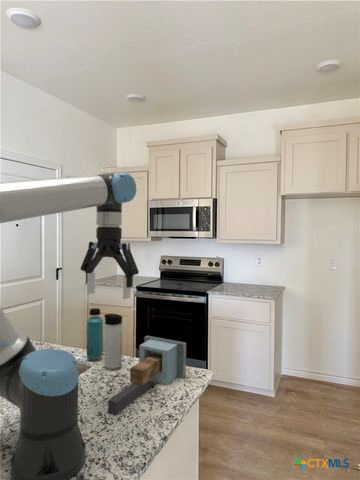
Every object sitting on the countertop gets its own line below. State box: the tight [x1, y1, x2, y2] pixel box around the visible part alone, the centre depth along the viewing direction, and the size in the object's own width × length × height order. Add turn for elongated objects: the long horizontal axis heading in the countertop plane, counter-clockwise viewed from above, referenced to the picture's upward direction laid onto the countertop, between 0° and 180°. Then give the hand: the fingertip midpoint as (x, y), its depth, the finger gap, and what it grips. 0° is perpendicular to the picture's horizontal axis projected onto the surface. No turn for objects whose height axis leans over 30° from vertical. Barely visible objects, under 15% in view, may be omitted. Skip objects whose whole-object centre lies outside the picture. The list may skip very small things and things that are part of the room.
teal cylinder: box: [85, 307, 104, 359], centre depth 130 cm, size 6×7×20 cm
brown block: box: [129, 353, 162, 385], centre depth 109 cm, size 14×4×4 cm, turn 153°
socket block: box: [138, 340, 178, 386], centre depth 115 cm, size 7×11×11 cm, turn 64°
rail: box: [107, 381, 150, 416], centre depth 100 cm, size 17×3×4 cm, turn 154°
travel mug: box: [103, 313, 123, 371], centre depth 123 cm, size 6×7×20 cm
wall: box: [143, 335, 187, 379], centre depth 119 cm, size 2×16×12 cm, turn 64°
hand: (108, 295), depth 102 cm, fingers open, 13 cm apart
